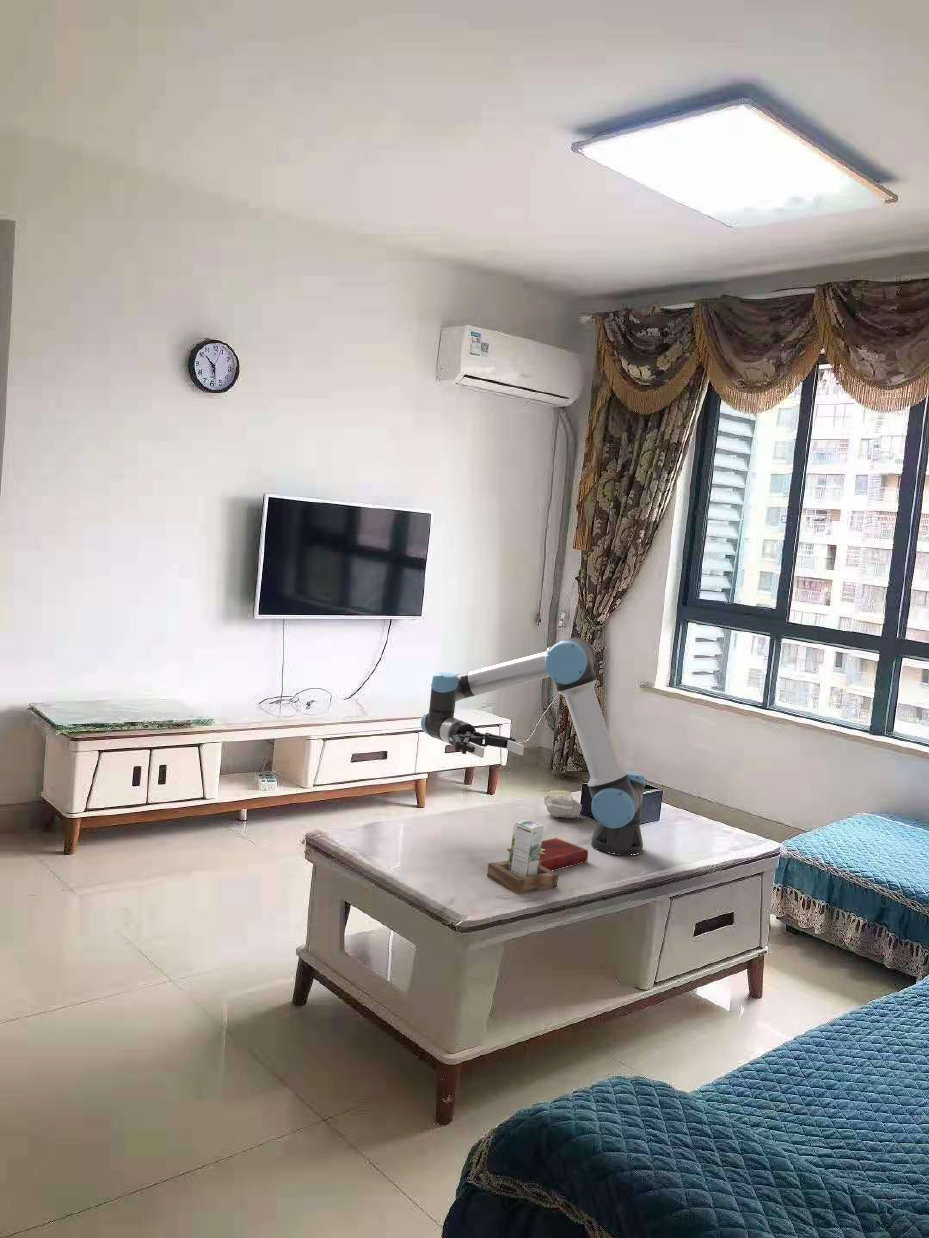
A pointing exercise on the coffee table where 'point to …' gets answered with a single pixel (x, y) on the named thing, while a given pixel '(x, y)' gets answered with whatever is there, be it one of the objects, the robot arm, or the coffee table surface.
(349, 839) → the coffee table surface
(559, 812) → the fossil replica
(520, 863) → the syrup box
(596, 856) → the coffee table surface
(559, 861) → the hardcover book
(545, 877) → the walnut holder
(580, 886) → the coffee table surface
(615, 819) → the robot arm
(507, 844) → the coffee table surface
